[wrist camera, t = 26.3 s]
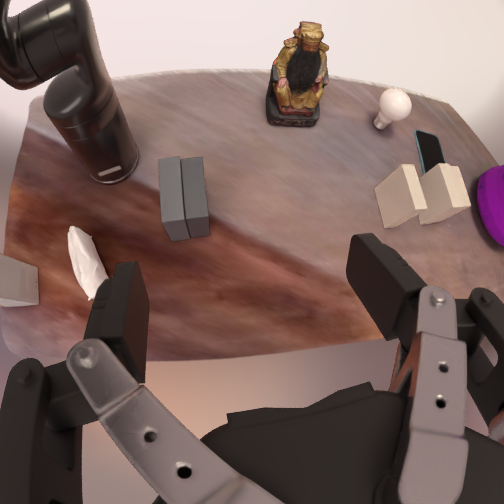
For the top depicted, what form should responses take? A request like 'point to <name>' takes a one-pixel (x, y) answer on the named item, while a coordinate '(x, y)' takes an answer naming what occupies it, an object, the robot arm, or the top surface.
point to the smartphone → (428, 150)
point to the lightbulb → (392, 107)
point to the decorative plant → (492, 202)
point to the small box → (18, 283)
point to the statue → (298, 78)
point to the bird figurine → (85, 261)
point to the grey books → (183, 198)
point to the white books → (442, 193)
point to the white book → (400, 196)
